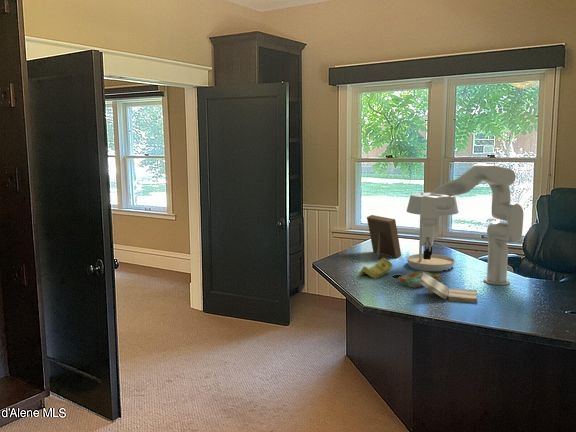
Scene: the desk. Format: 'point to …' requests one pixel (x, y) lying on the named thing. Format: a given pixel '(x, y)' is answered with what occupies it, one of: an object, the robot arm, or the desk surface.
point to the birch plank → (434, 285)
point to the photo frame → (384, 236)
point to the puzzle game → (415, 279)
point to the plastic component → (377, 269)
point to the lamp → (418, 260)
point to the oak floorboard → (462, 295)
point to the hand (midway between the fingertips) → (427, 257)
